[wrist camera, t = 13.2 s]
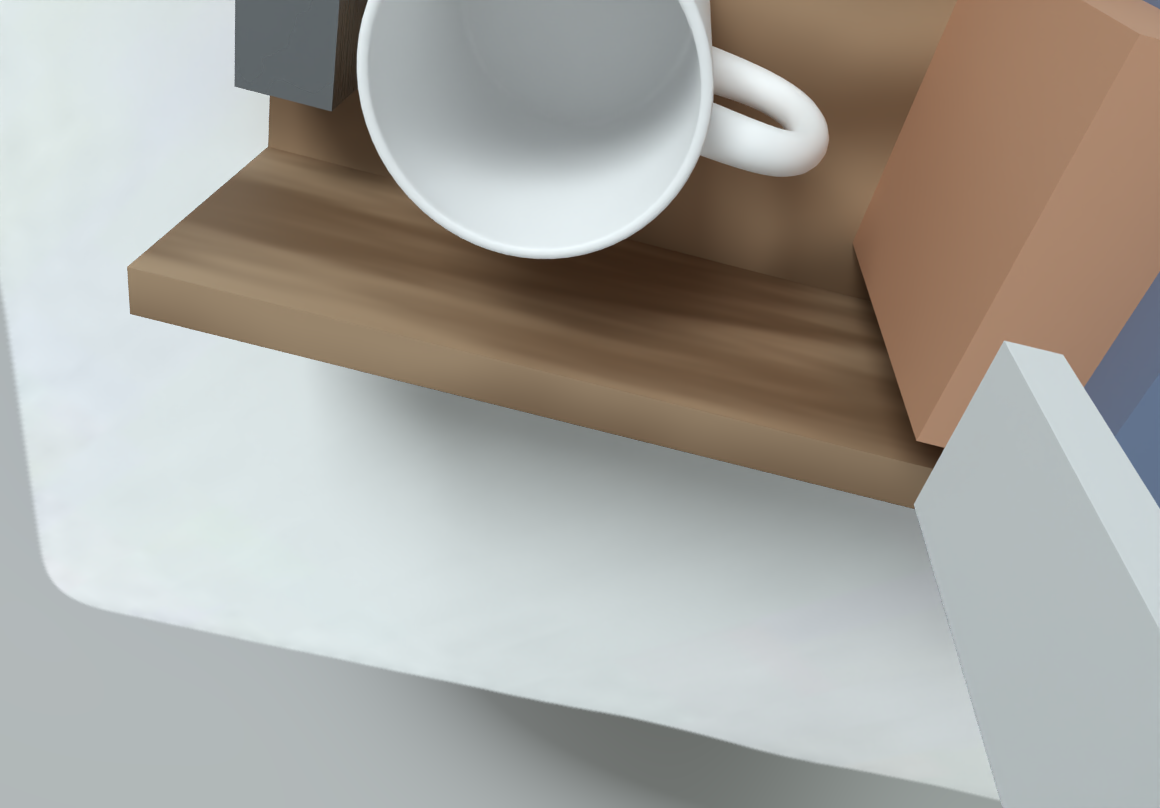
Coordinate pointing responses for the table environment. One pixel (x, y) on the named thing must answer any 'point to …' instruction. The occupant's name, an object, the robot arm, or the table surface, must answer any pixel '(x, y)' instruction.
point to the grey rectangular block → (298, 49)
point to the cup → (565, 114)
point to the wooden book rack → (600, 273)
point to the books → (1027, 213)
